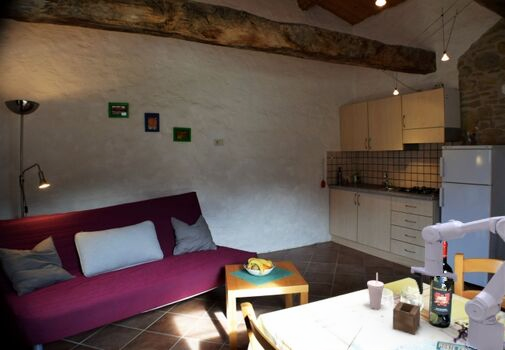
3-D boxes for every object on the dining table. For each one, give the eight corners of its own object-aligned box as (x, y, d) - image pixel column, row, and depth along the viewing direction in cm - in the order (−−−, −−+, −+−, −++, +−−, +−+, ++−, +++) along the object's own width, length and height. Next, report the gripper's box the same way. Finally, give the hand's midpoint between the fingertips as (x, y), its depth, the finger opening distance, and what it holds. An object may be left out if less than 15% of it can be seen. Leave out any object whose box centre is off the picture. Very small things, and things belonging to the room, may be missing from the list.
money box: (419, 325, 120) (420, 306, 120) (414, 334, 114) (414, 314, 113) (399, 319, 124) (399, 301, 124) (392, 328, 118) (393, 309, 118)
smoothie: (385, 311, 131) (385, 276, 131) (368, 309, 133) (368, 275, 132) (382, 303, 138) (382, 270, 137) (365, 302, 139) (366, 269, 138)
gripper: (458, 259, 118) (458, 297, 119) (414, 252, 127) (413, 287, 128) (456, 265, 112) (455, 304, 113) (409, 257, 121) (409, 294, 122)
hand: (433, 296), depth 120 cm, fingers open, 7 cm apart
